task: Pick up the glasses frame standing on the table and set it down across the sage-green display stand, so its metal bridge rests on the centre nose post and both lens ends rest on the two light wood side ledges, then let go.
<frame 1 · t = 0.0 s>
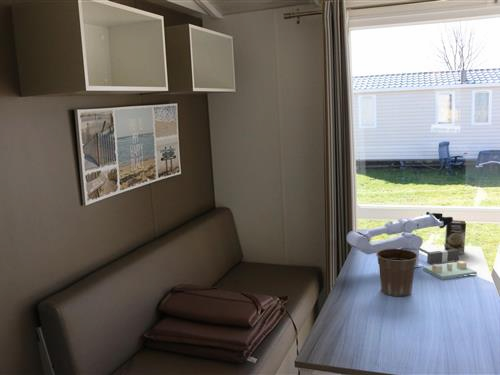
hand: (447, 217, 247), 22 cm above the table, tool horizontal, fingers open, 7 cm apart
display stand: (449, 272, 236), on the table
coffee box: (454, 252, 264), on the table
plant pot: (395, 291, 215), on the table
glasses: (443, 261, 251), on the table
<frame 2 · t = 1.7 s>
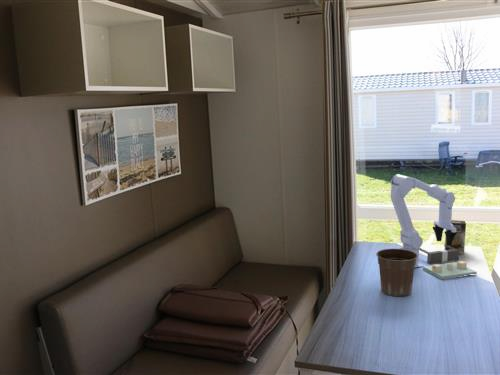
hand: (443, 243, 249), 9 cm above the table, tool pointing down, fingers open, 7 cm apart
nothing on the table moved.
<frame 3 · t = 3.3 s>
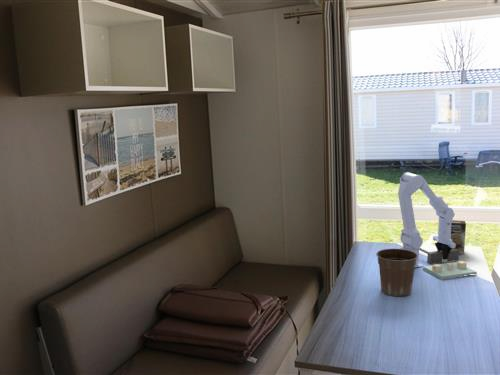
hand: (443, 258, 251), 1 cm above the table, tool pointing down, fingers closed on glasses, 2 cm apart
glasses: (443, 261, 251), on the table, touching gripper
everything else where it was.
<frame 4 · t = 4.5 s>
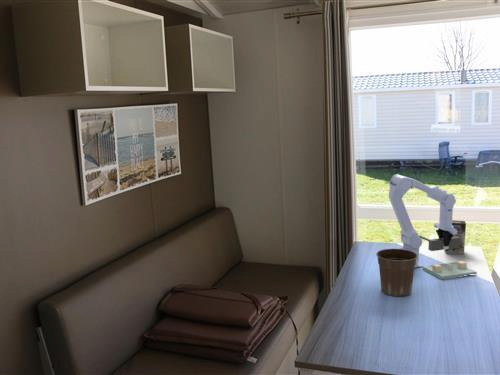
hand: (444, 245, 248), 8 cm above the table, tool pointing down, fingers closed on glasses, 2 cm apart
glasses: (444, 248, 248), point 7 cm above the table, touching gripper
everything else where it was.
when the fingers open (6 cm above the table, at t = 6.1 s): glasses stays where it is, resting on display stand.
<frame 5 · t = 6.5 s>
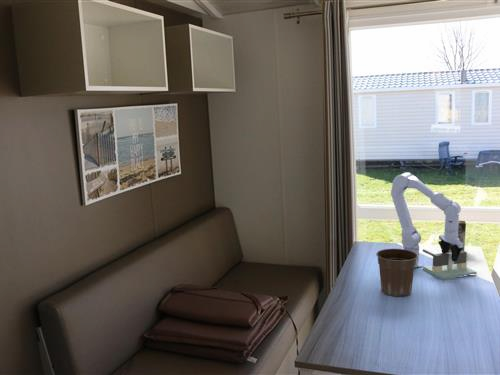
hand: (449, 258, 235), 6 cm above the table, tool pointing down, fingers open, 6 cm apart
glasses: (449, 263, 235), point 4 cm above the table, touching display stand
everything else where it was.
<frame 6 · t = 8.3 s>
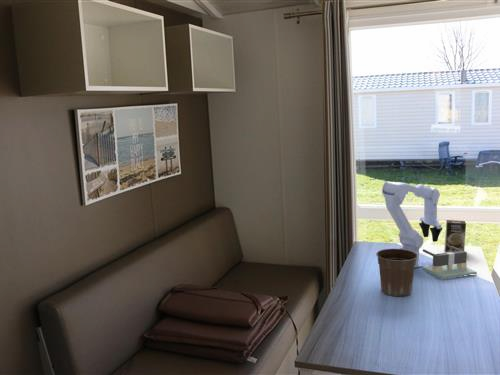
hand: (430, 239, 251), 10 cm above the table, tool pointing down, fingers open, 7 cm apart
nothing on the table moved.
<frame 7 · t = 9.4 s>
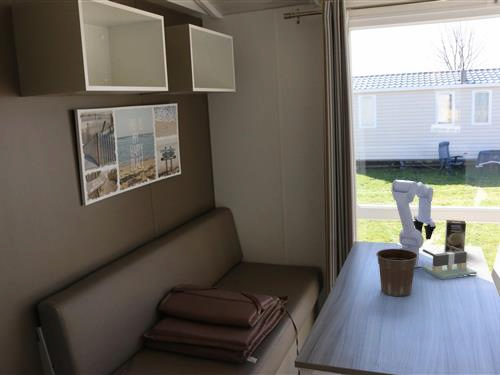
hand: (423, 237, 255), 10 cm above the table, tool pointing down, fingers open, 7 cm apart
nothing on the table moved.
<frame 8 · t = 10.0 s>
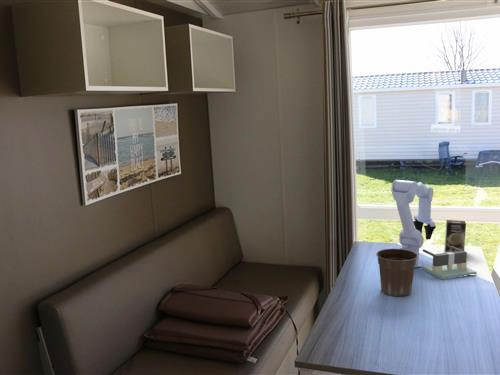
hand: (423, 237, 255), 10 cm above the table, tool pointing down, fingers open, 7 cm apart
nothing on the table moved.
at the end: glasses 0.1 cm off-centre on the display stand, point 4.0 cm above the display stand's base; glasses tilted 0°; the gripper is holding nothing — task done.
